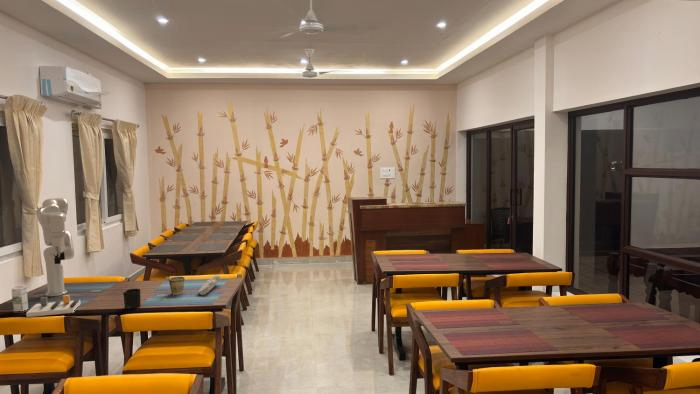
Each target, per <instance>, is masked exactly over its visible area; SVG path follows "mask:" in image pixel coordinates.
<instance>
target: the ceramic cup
mask: <svg viewBox="0 0 700 394" xmlns="http://www.w3.org/2000/svg"><path fill="white" fill-rule="evenodd" d="M185 278H186V277H185V276H173V277H169V278H168V284H169V286H170V290H171V295H173V296H175V295H176V296H177V295H181V294H183V293H184V288H185V286H184V285H185V281H186V279H185Z"/></svg>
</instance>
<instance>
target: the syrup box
mask: <svg viewBox="0 0 700 394" xmlns="http://www.w3.org/2000/svg"><path fill="white" fill-rule="evenodd" d="M27 288H28V287H27V285H21V286H20V285H19V286H14V287H12V288H11V299H12V301H11V302H12V312H13V311H24V310H27V309H28V310H29V301H28V289H27ZM28 310H27V311H28Z"/></svg>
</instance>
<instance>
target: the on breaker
mask: <svg viewBox="0 0 700 394" xmlns="http://www.w3.org/2000/svg"><path fill="white" fill-rule="evenodd" d="M48 303H49V300H48V296H41V297H40V304H41V306H44V305H47V304H48Z"/></svg>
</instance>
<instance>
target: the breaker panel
mask: <svg viewBox="0 0 700 394" xmlns="http://www.w3.org/2000/svg"><path fill="white" fill-rule="evenodd" d="M55 302H56V301H52V302H48V304H47V305H44V306H41V303H36V304H34V305H33V306H31V308H30V309H28V310H27V312H26V313H25V315H26V318H31V317H40V316H41V317H42V316H51V315H52V316H53V315H54V316H55V315H62V314H63V315H64V314H74V313H75V311H76V310H77V309H78V308H79V307H80V305H81V304H82V303H81V299H79V301H78V302H77V303H76V305H75V306H74V307H73V308H71V307H70V305H71V304H72V303H73V302H74V300H70V303H66V304H64V302H63V301H61V302H60V303H59V304H58V305H57V306H56V307H55V309H53V310H52V309H51V306H52V305H53V304H54V303H55ZM78 306H79V307H78ZM77 307H78V308H77ZM76 308H77V309H76ZM75 309H76V310H75ZM74 310H75V311H74Z"/></svg>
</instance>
